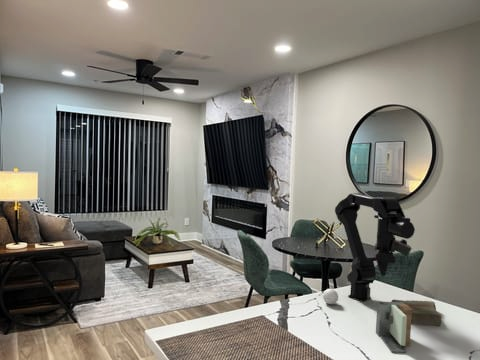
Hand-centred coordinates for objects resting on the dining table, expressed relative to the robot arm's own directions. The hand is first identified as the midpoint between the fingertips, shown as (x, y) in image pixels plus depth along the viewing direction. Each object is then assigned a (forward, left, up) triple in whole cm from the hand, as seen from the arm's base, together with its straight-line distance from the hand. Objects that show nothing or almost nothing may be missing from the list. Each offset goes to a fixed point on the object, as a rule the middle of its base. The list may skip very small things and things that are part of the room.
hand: (382, 275), depth 128 cm
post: (+15, -18, -13) cm, 27 cm away
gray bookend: (+14, -20, -13) cm, 27 cm away
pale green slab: (+14, -21, -11) cm, 27 cm away
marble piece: (+11, +5, -13) cm, 18 cm away
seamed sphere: (-14, -10, -13) cm, 22 cm away
